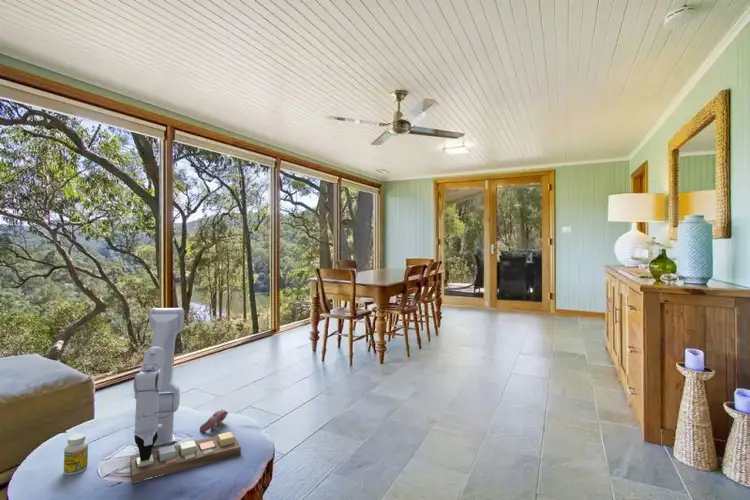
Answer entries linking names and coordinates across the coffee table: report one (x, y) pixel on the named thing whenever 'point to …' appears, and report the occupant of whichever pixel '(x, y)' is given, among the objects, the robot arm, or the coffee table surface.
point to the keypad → (183, 459)
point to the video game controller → (214, 420)
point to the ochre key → (225, 439)
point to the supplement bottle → (75, 454)
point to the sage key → (187, 448)
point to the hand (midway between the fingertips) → (145, 459)
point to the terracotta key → (206, 446)
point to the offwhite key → (144, 462)
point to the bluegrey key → (166, 453)
